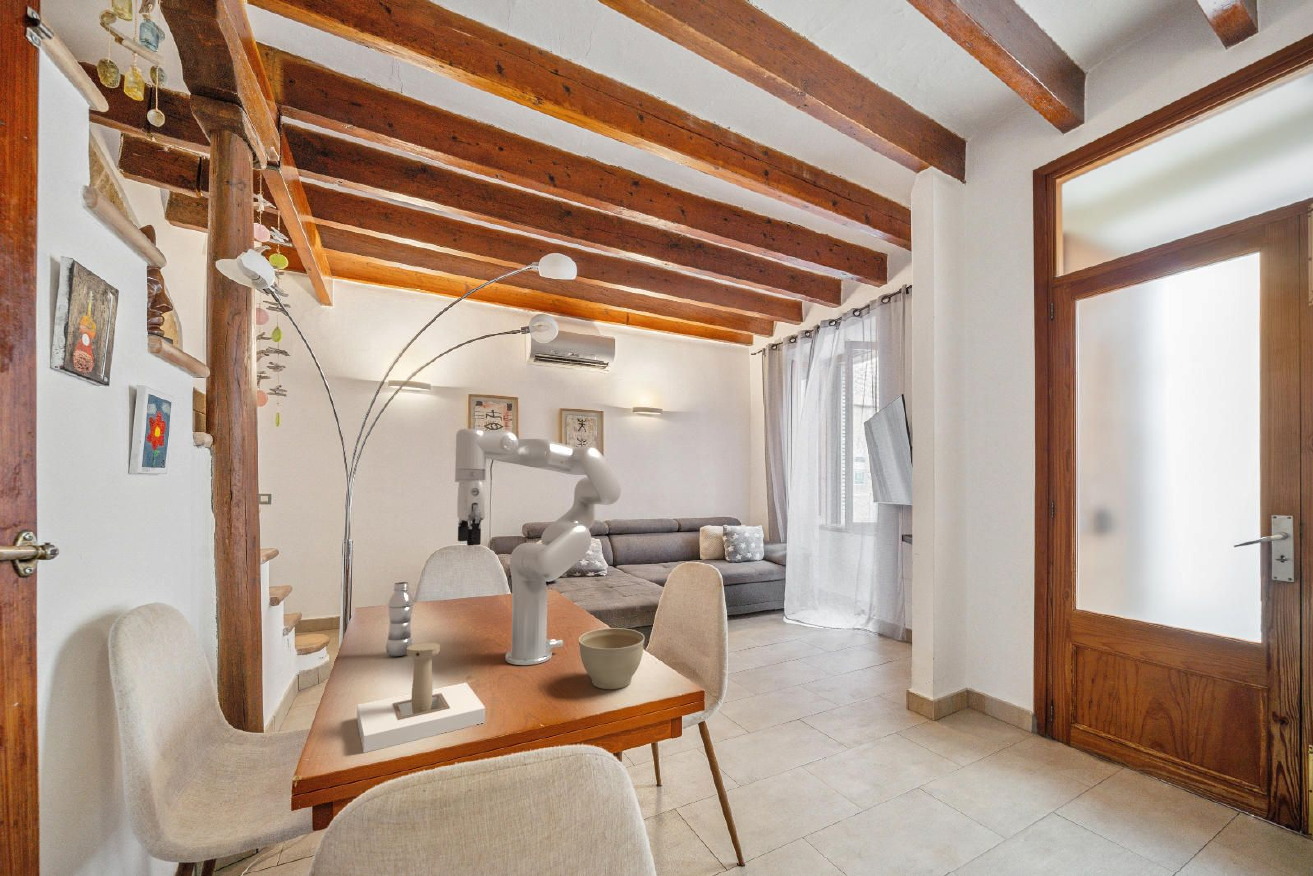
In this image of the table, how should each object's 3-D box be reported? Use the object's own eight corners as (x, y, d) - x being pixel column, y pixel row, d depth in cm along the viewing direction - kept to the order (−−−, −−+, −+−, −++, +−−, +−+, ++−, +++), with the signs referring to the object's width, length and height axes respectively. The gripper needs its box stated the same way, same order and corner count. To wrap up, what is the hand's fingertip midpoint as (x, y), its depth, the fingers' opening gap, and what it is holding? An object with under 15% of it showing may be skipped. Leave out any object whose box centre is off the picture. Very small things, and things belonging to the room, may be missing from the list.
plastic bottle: (391, 651, 154) (393, 581, 156) (415, 651, 155) (417, 580, 156) (381, 659, 148) (384, 585, 149) (407, 658, 148) (409, 585, 150)
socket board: (465, 696, 124) (466, 681, 124) (485, 723, 110) (485, 707, 110) (356, 719, 112) (357, 703, 112) (363, 753, 98) (364, 735, 99)
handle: (430, 726, 109) (432, 650, 110) (400, 726, 109) (402, 650, 110) (441, 716, 113) (443, 643, 114) (412, 715, 114) (414, 642, 115)
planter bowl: (571, 675, 136) (572, 632, 137) (631, 667, 142) (631, 625, 143) (587, 700, 121) (588, 651, 122) (654, 690, 127) (654, 643, 128)
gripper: (494, 476, 134) (493, 545, 133) (476, 476, 149) (474, 538, 148) (463, 476, 130) (461, 548, 129) (448, 476, 145) (446, 540, 144)
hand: (468, 543), depth 138 cm, fingers open, 9 cm apart
